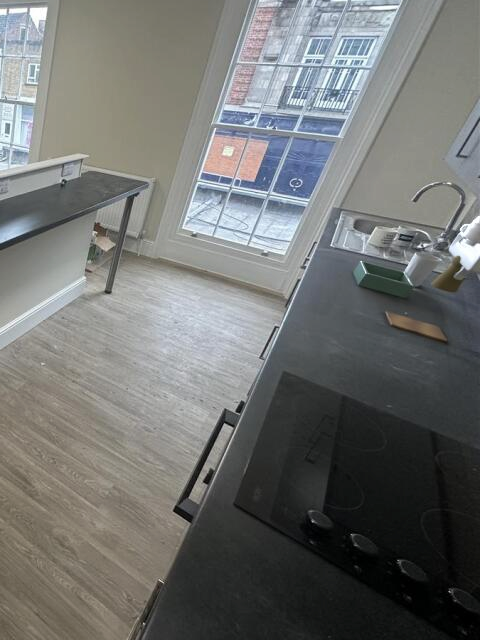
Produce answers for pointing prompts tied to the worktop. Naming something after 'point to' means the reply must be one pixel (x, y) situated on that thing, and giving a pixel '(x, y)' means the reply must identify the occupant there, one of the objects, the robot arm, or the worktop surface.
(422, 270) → the cup
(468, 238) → the robot arm
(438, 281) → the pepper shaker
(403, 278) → the basin
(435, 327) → the mat
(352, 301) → the worktop surface
